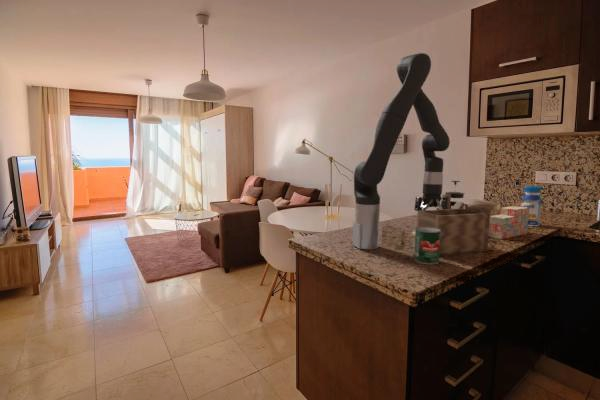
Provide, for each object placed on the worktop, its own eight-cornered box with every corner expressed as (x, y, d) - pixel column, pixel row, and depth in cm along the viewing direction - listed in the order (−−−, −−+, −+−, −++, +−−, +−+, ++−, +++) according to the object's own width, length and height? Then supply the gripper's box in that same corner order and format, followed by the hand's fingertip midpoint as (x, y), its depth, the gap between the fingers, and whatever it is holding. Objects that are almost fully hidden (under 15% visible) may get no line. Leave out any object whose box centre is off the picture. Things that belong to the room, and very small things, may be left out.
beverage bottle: (543, 226, 164) (547, 186, 162) (530, 227, 162) (534, 187, 160) (528, 223, 172) (531, 185, 170) (515, 223, 170) (518, 185, 168)
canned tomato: (425, 256, 116) (426, 225, 114) (444, 262, 109) (446, 230, 107) (409, 259, 112) (410, 227, 111) (427, 265, 105) (429, 232, 104)
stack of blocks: (502, 239, 139) (504, 211, 137) (487, 236, 144) (489, 209, 142) (527, 233, 149) (529, 207, 148) (512, 231, 155) (514, 205, 153)
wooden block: (461, 232, 151) (464, 194, 149) (444, 234, 147) (446, 195, 145) (455, 230, 155) (457, 193, 152) (438, 232, 151) (440, 194, 148)
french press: (437, 225, 167) (440, 180, 164) (447, 223, 173) (450, 179, 170) (460, 229, 158) (463, 182, 155) (470, 226, 164) (473, 181, 160)
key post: (478, 251, 122) (481, 209, 120) (463, 245, 129) (465, 206, 127) (487, 250, 123) (490, 209, 121) (471, 244, 130) (474, 206, 128)
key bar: (493, 209, 118) (493, 203, 118) (468, 205, 130) (469, 199, 130) (499, 209, 119) (500, 203, 119) (474, 204, 131) (475, 199, 130)
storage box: (435, 256, 115) (438, 216, 113) (415, 247, 126) (417, 210, 124) (482, 252, 120) (485, 213, 118) (459, 244, 131) (461, 208, 129)
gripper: (423, 183, 130) (420, 223, 132) (453, 183, 134) (450, 222, 136) (412, 182, 137) (410, 220, 139) (441, 182, 141) (438, 218, 143)
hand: (430, 221), depth 137 cm, fingers open, 8 cm apart
